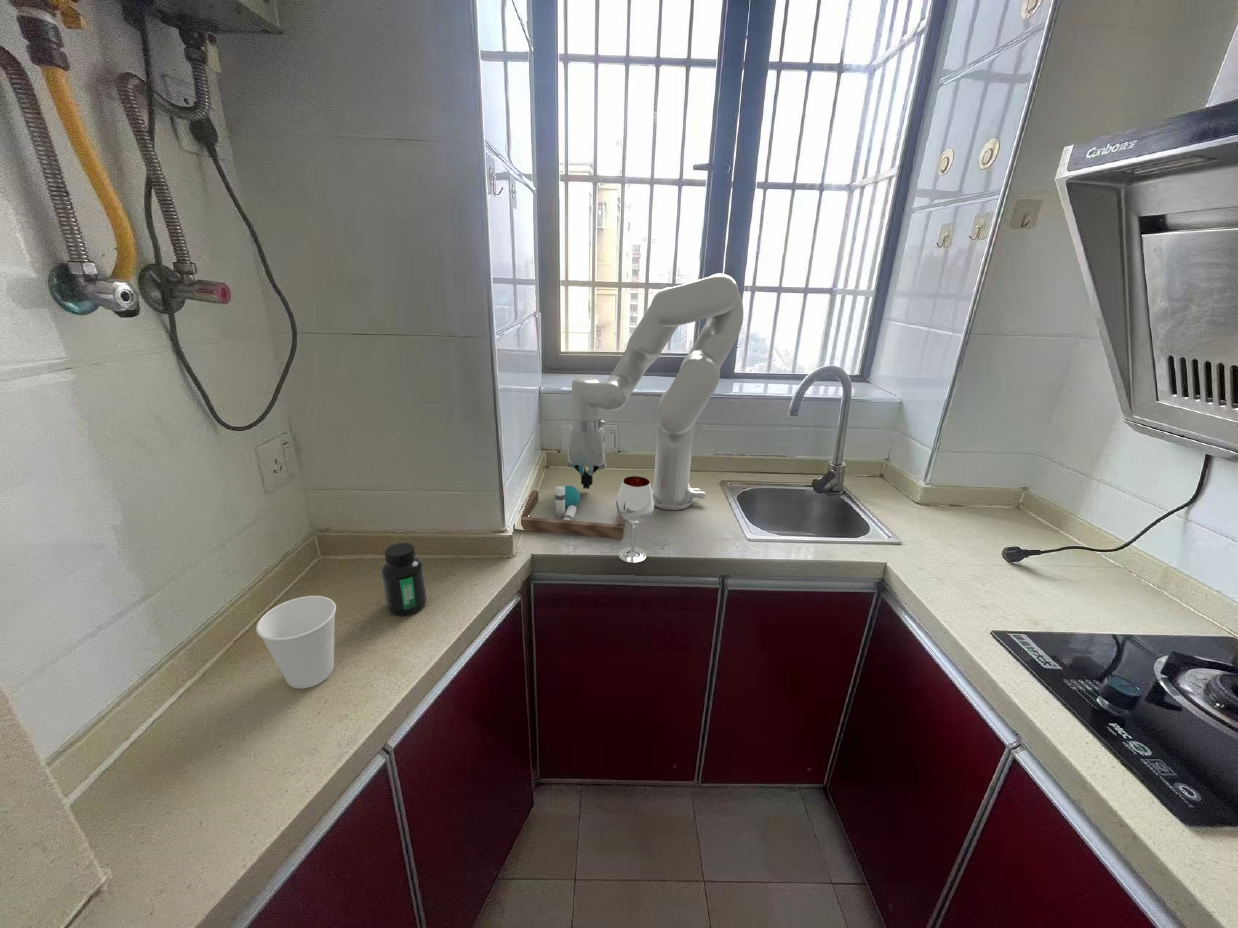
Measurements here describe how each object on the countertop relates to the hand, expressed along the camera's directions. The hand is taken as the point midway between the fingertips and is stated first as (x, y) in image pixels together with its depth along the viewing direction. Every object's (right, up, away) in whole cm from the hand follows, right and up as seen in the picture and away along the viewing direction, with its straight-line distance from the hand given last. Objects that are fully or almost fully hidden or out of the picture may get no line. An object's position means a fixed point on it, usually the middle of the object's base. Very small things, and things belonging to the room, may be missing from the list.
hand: (586, 486), depth 141 cm
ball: (-4, -2, -9) cm, 11 cm away
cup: (-38, -26, -64) cm, 79 cm away
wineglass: (+12, -14, -29) cm, 35 cm away
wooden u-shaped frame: (-2, -7, -13) cm, 15 cm away
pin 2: (-3, -5, -12) cm, 14 cm away
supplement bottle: (-30, -20, -48) cm, 60 cm away
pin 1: (-6, -7, -14) cm, 17 cm away
